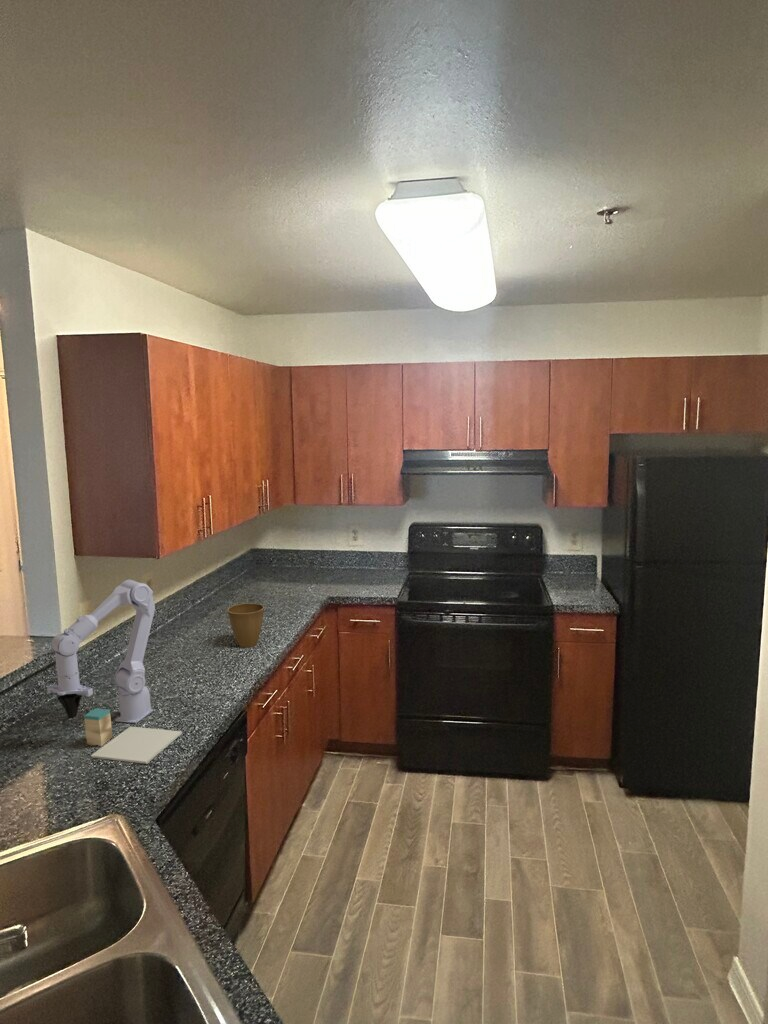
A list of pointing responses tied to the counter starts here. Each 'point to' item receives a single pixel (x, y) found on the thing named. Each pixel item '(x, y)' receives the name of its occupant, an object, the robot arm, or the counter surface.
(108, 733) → the wooden block
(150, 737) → the board
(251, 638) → the plant pot
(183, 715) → the counter surface
